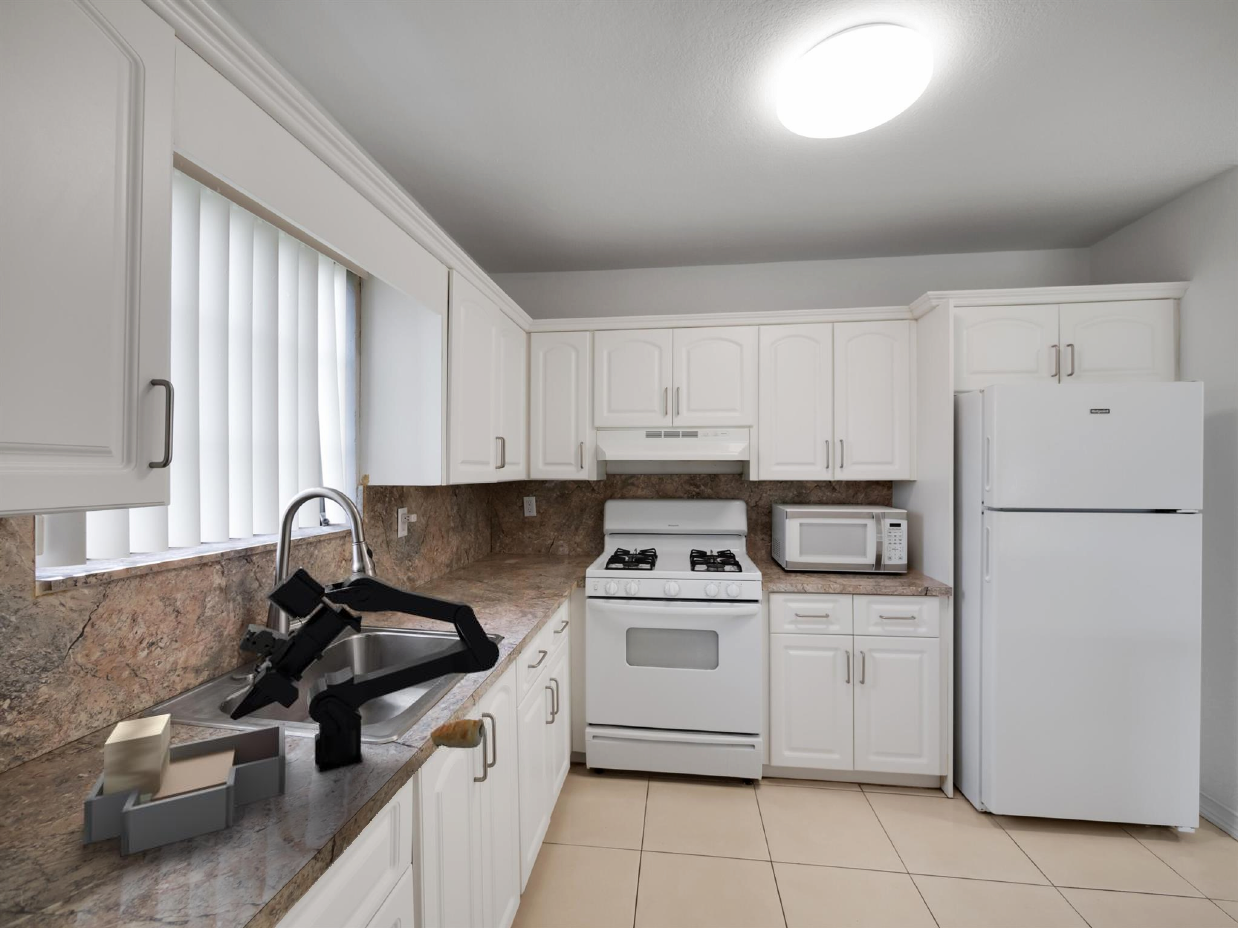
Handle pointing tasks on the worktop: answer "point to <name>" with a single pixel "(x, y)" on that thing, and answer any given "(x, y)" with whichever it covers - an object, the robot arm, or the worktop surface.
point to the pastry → (459, 734)
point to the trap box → (191, 791)
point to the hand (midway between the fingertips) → (232, 717)
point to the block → (137, 755)
